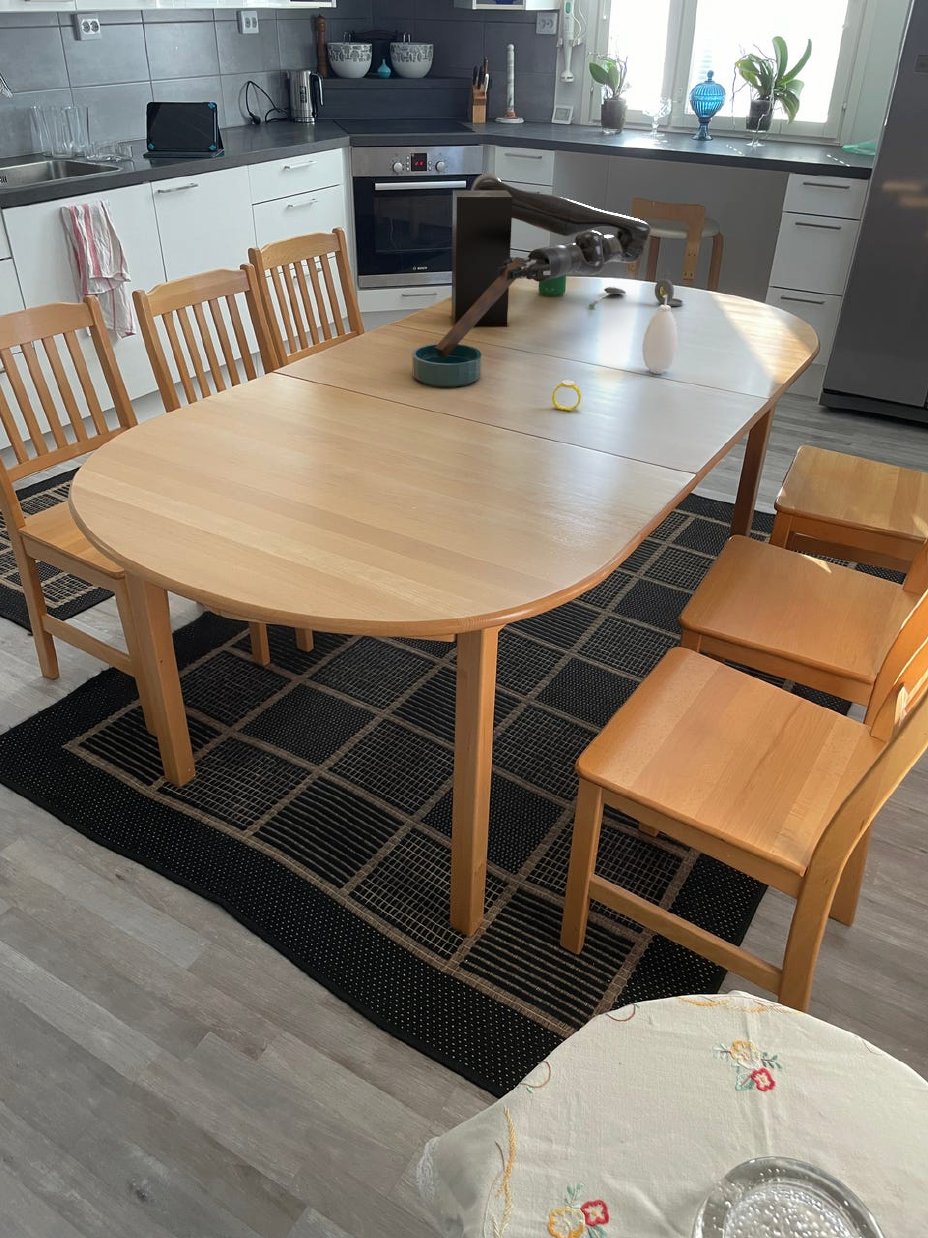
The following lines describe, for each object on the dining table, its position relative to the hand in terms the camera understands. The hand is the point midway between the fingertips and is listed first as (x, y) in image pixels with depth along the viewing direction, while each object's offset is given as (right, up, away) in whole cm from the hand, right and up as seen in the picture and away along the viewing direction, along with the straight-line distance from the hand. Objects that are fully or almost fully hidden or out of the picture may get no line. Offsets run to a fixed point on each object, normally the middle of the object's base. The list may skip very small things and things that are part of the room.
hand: (503, 273), depth 220 cm
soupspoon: (+32, +12, +56) cm, 66 cm away
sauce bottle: (+36, -23, +2) cm, 43 cm away
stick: (-5, -8, -1) cm, 10 cm away
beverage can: (+17, +17, +62) cm, 66 cm away
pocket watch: (+50, +11, +54) cm, 74 cm away
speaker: (-5, 0, +35) cm, 36 cm away
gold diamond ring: (+12, -36, -20) cm, 43 cm away
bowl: (-13, -25, -4) cm, 29 cm away
